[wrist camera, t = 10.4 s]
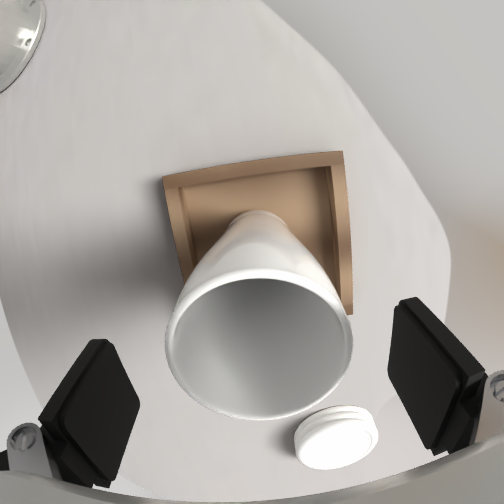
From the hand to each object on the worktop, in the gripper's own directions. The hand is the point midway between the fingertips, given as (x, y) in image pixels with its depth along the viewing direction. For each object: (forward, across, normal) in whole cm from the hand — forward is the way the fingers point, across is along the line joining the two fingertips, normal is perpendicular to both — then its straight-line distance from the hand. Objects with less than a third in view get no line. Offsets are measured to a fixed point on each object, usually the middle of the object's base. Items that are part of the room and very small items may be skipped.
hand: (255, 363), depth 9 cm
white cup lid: (+16, -6, +26) cm, 31 cm away
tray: (+16, -1, +1) cm, 16 cm away
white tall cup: (+16, 0, +1) cm, 16 cm away
